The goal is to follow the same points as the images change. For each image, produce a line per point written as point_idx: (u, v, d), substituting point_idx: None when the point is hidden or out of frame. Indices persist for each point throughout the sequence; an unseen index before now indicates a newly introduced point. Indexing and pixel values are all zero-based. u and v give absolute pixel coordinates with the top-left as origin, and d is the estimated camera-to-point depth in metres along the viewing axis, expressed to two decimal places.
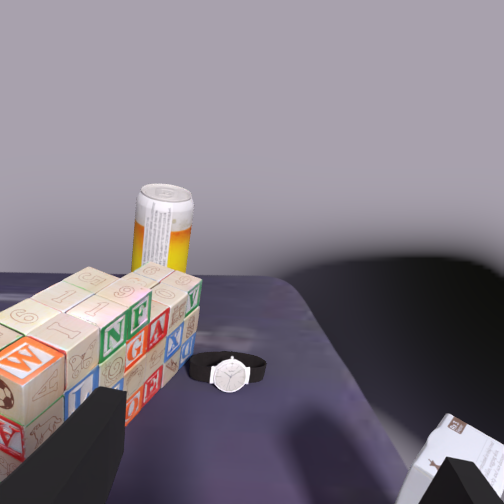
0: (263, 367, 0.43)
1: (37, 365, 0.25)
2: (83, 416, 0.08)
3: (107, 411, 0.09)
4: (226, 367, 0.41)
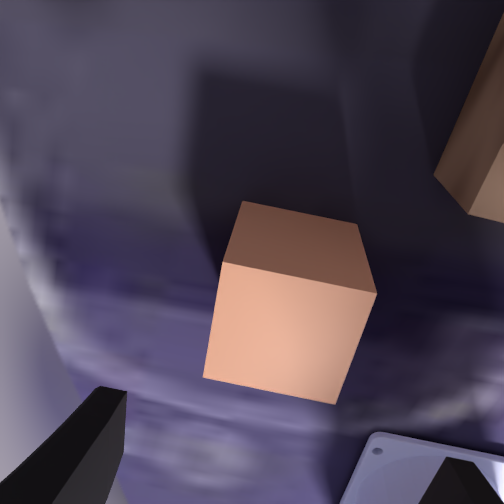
0: None
1: None
2: (83, 416, 0.08)
3: (107, 411, 0.09)
4: None
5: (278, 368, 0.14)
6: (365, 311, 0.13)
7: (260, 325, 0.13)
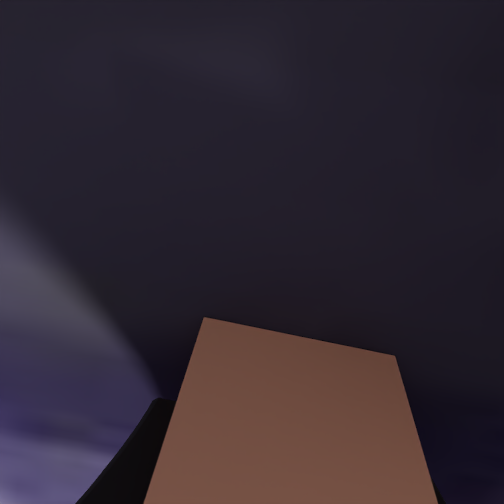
0: None
1: None
2: (148, 430, 0.08)
3: None
4: None
5: None
6: None
7: None
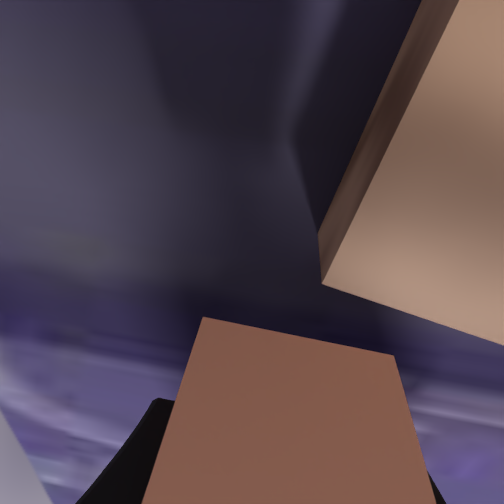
0: None
1: None
2: (148, 429, 0.08)
3: None
4: None
5: None
6: None
7: None
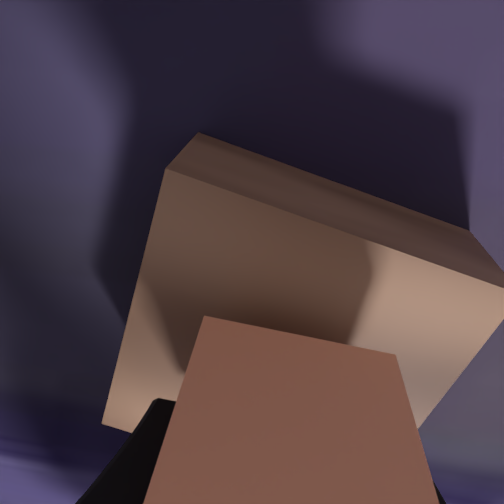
0: None
1: None
2: (148, 429, 0.08)
3: None
4: None
5: None
6: None
7: None
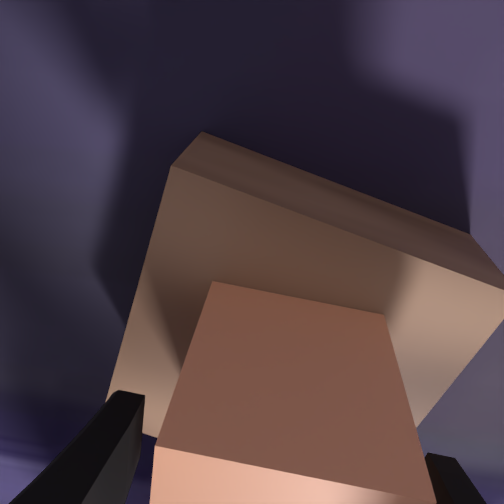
0: None
1: None
2: (104, 420, 0.08)
3: (127, 415, 0.09)
4: None
5: None
6: None
7: None
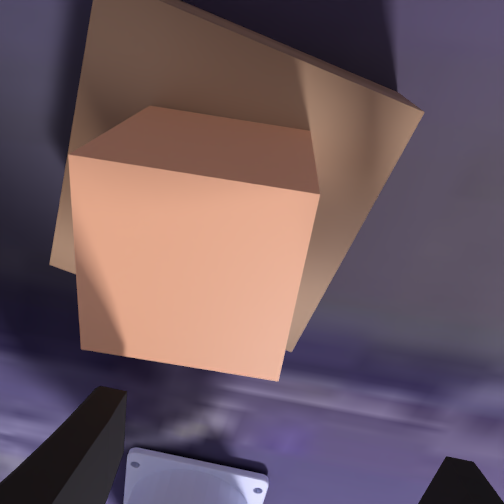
0: None
1: None
2: (83, 416, 0.08)
3: (107, 411, 0.09)
4: None
5: (186, 329, 0.09)
6: (305, 227, 0.08)
7: (147, 261, 0.09)
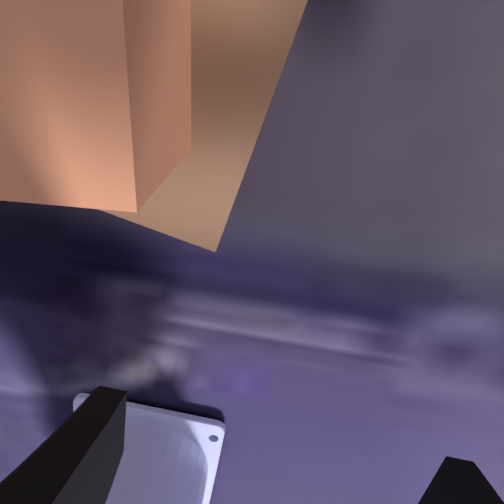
0: None
1: None
2: (83, 416, 0.08)
3: (107, 411, 0.09)
4: None
5: (17, 149, 0.08)
6: None
7: None
